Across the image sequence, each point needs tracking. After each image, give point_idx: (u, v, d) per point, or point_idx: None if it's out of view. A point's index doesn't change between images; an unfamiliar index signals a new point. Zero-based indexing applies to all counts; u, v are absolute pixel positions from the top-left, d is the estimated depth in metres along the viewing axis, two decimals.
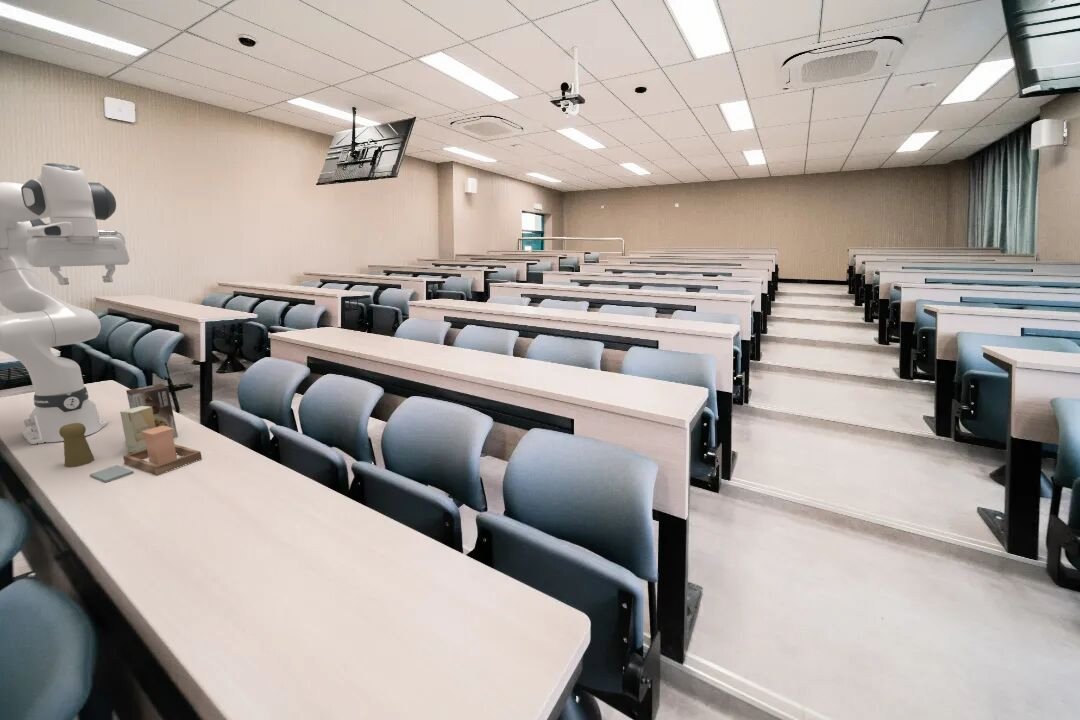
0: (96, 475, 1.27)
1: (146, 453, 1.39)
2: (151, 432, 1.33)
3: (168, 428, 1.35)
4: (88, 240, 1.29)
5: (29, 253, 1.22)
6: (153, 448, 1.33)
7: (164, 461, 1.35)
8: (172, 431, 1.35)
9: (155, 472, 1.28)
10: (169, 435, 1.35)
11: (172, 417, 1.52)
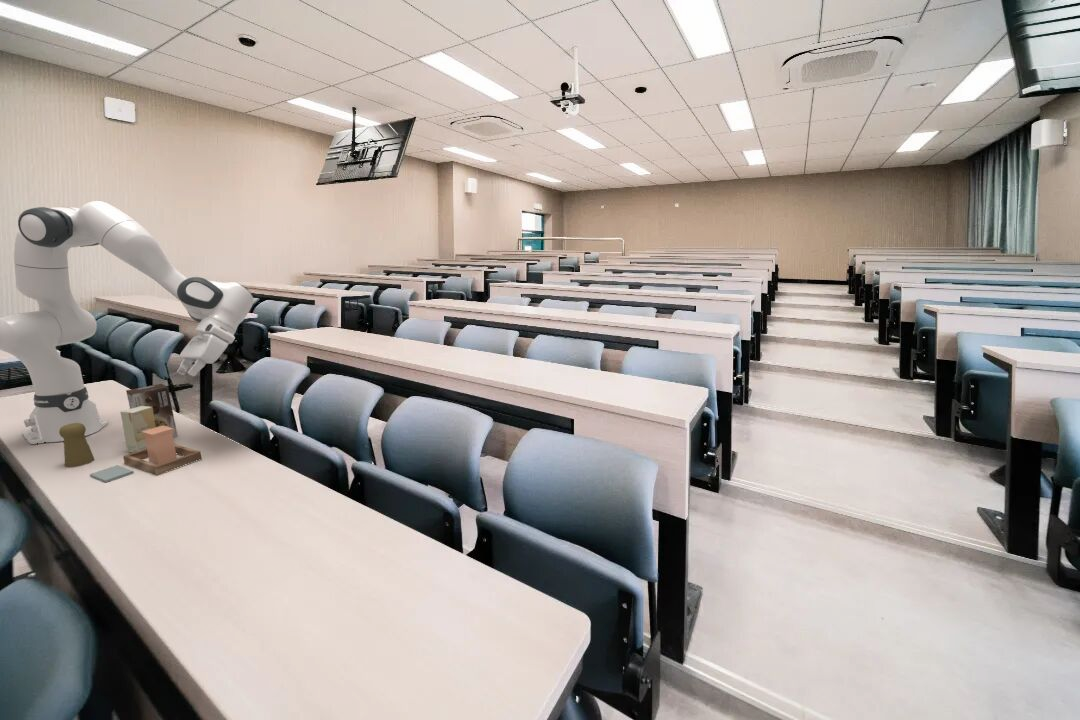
0: (96, 475, 1.27)
1: (146, 453, 1.39)
2: (151, 432, 1.33)
3: (168, 428, 1.35)
4: None
5: (213, 349, 1.36)
6: (153, 448, 1.33)
7: (164, 461, 1.35)
8: (172, 431, 1.35)
9: (155, 472, 1.28)
10: (169, 435, 1.35)
11: (172, 417, 1.52)
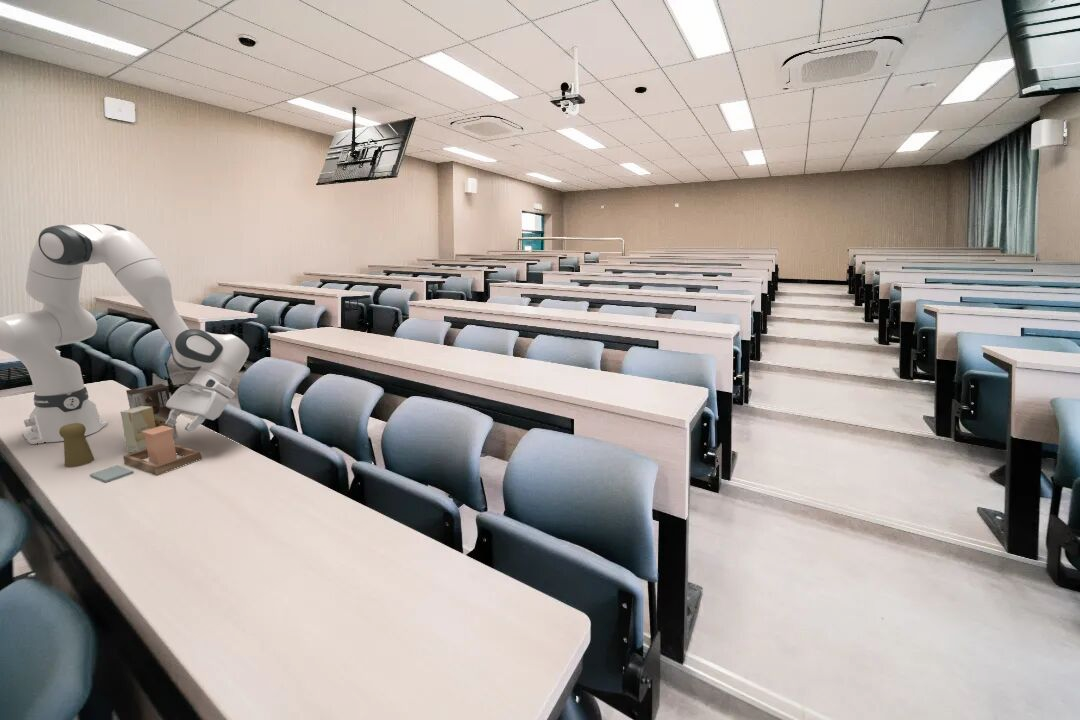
0: (96, 475, 1.27)
1: (146, 453, 1.39)
2: (151, 432, 1.33)
3: (168, 428, 1.35)
4: None
5: (216, 406, 1.38)
6: (153, 448, 1.33)
7: (164, 461, 1.35)
8: (172, 431, 1.35)
9: (155, 472, 1.28)
10: (169, 435, 1.35)
11: None
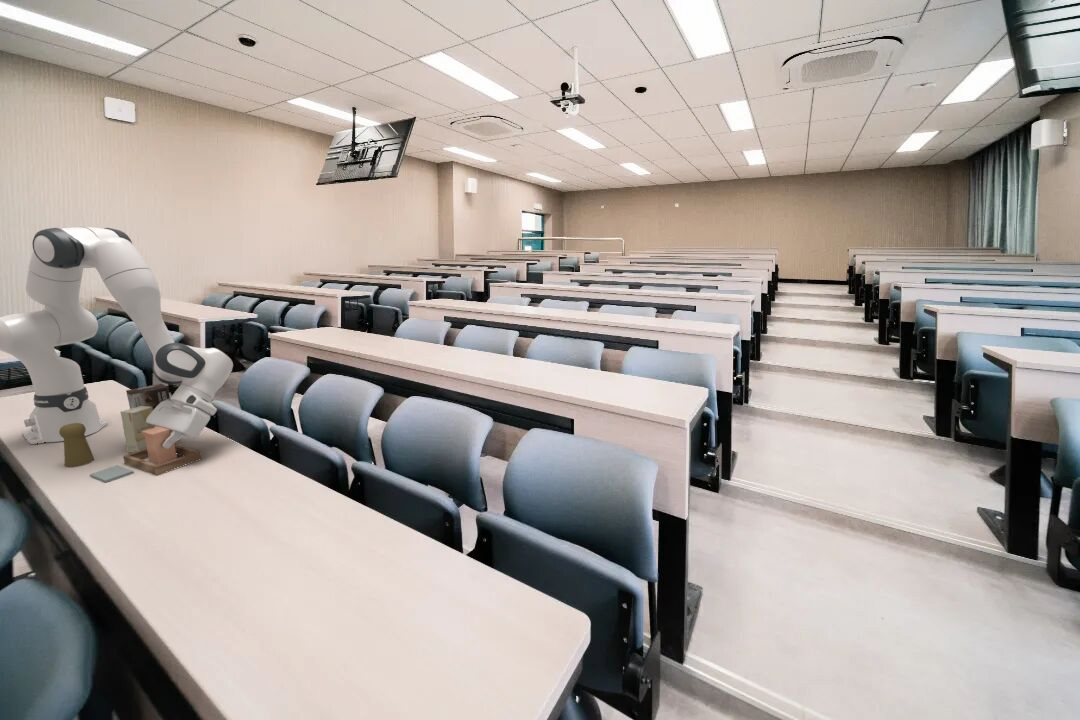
0: (96, 475, 1.27)
1: (146, 453, 1.39)
2: (151, 432, 1.33)
3: None
4: None
5: (196, 423, 1.34)
6: (153, 448, 1.33)
7: (164, 461, 1.35)
8: None
9: (155, 472, 1.28)
10: (169, 435, 1.35)
11: None
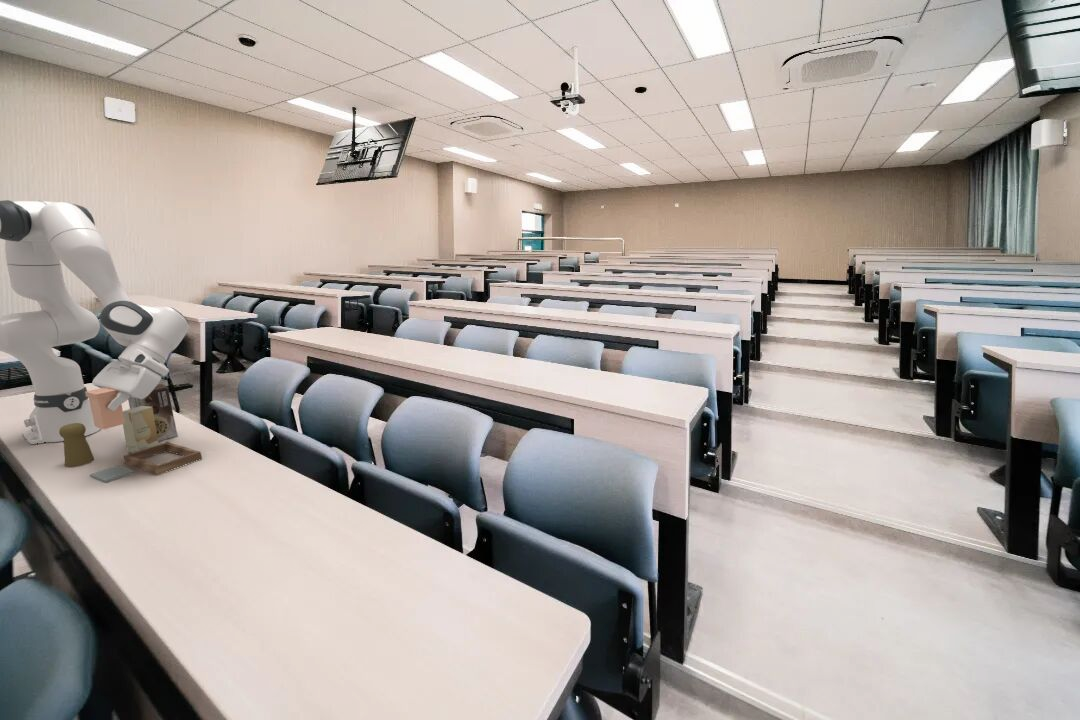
0: (96, 475, 1.27)
1: (146, 453, 1.39)
2: (95, 392, 1.23)
3: None
4: None
5: (145, 384, 1.24)
6: (97, 409, 1.24)
7: (110, 424, 1.25)
8: None
9: (155, 472, 1.28)
10: (116, 396, 1.26)
11: (172, 417, 1.52)
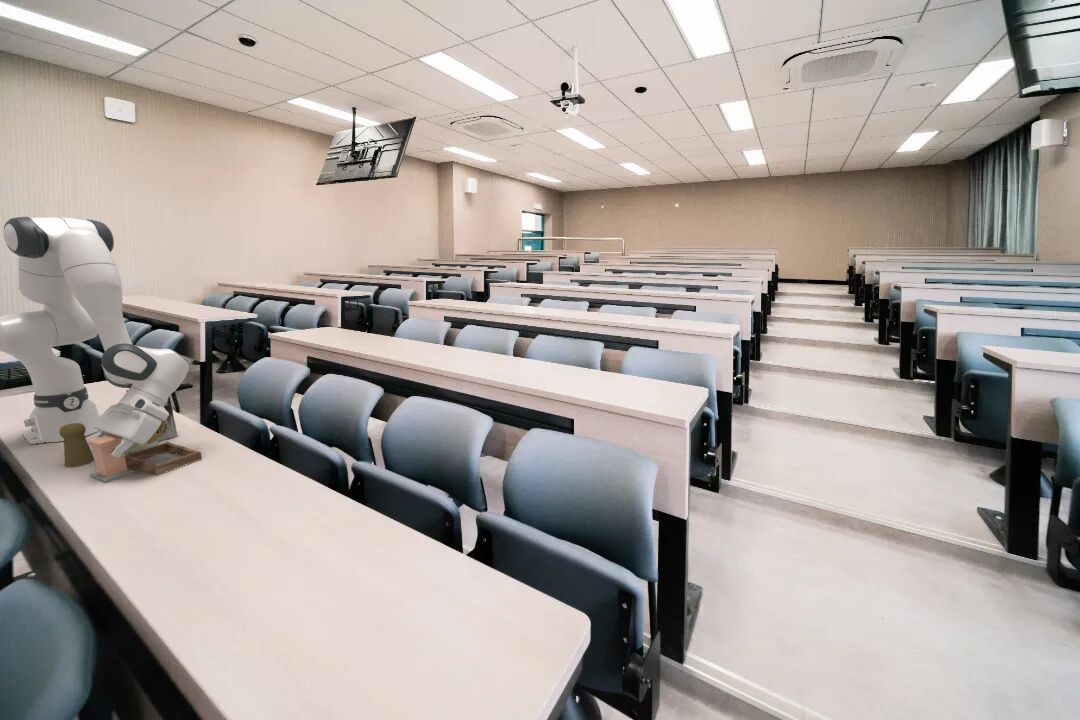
0: (96, 475, 1.27)
1: (146, 453, 1.39)
2: (98, 441, 1.25)
3: (117, 437, 1.28)
4: None
5: (145, 429, 1.26)
6: (100, 458, 1.25)
7: (112, 472, 1.27)
8: (121, 440, 1.28)
9: (155, 472, 1.28)
10: (118, 444, 1.27)
11: (172, 417, 1.52)
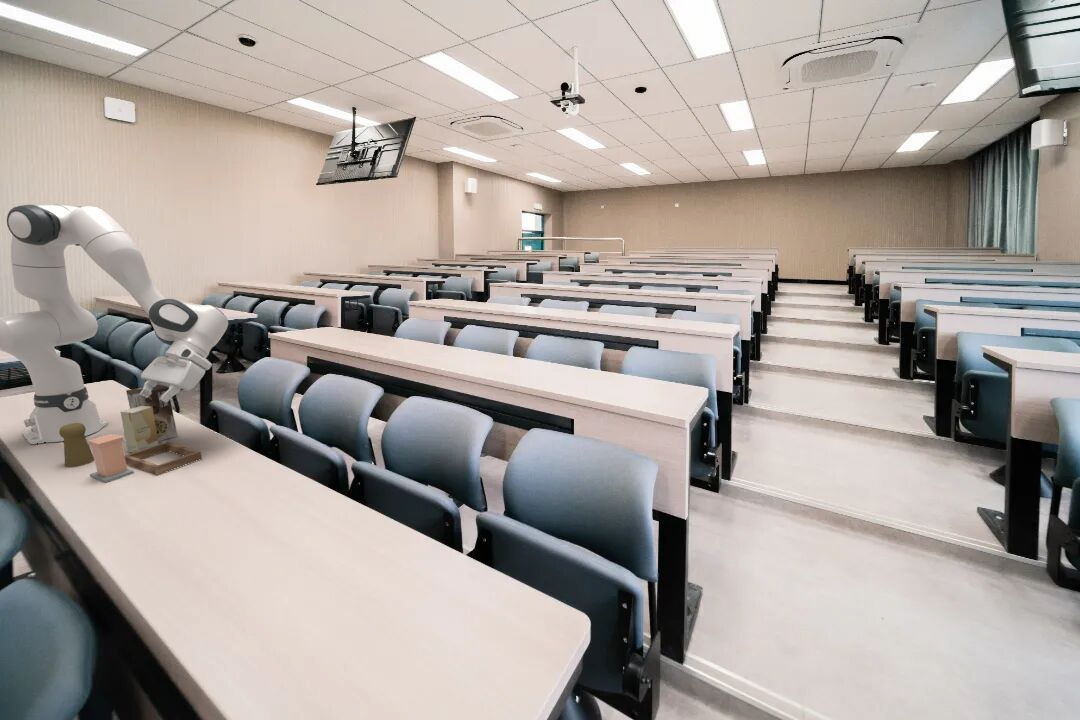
0: (96, 475, 1.27)
1: (146, 453, 1.39)
2: (98, 441, 1.25)
3: (117, 437, 1.28)
4: None
5: (191, 376, 1.34)
6: (100, 458, 1.25)
7: (112, 472, 1.27)
8: (121, 440, 1.28)
9: (155, 472, 1.28)
10: (118, 444, 1.27)
11: (172, 417, 1.52)
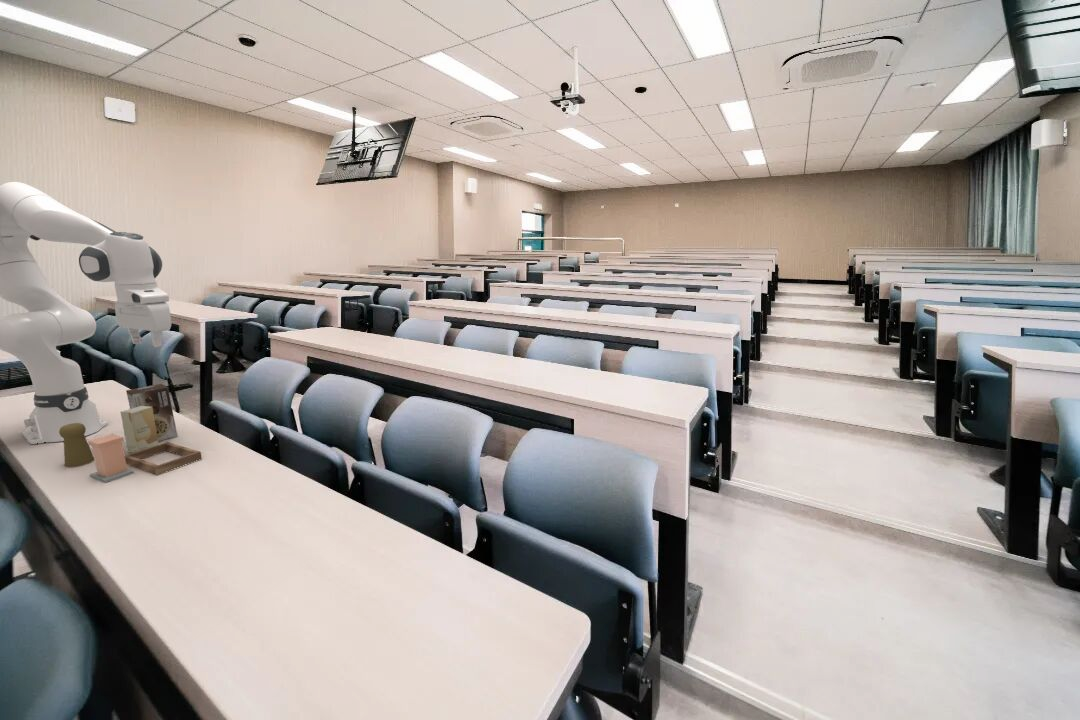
0: (96, 475, 1.27)
1: (146, 453, 1.39)
2: (98, 441, 1.25)
3: (117, 437, 1.28)
4: None
5: (160, 318, 1.30)
6: (100, 458, 1.25)
7: (112, 472, 1.27)
8: (121, 440, 1.28)
9: (155, 472, 1.28)
10: (118, 444, 1.27)
11: (172, 417, 1.52)
